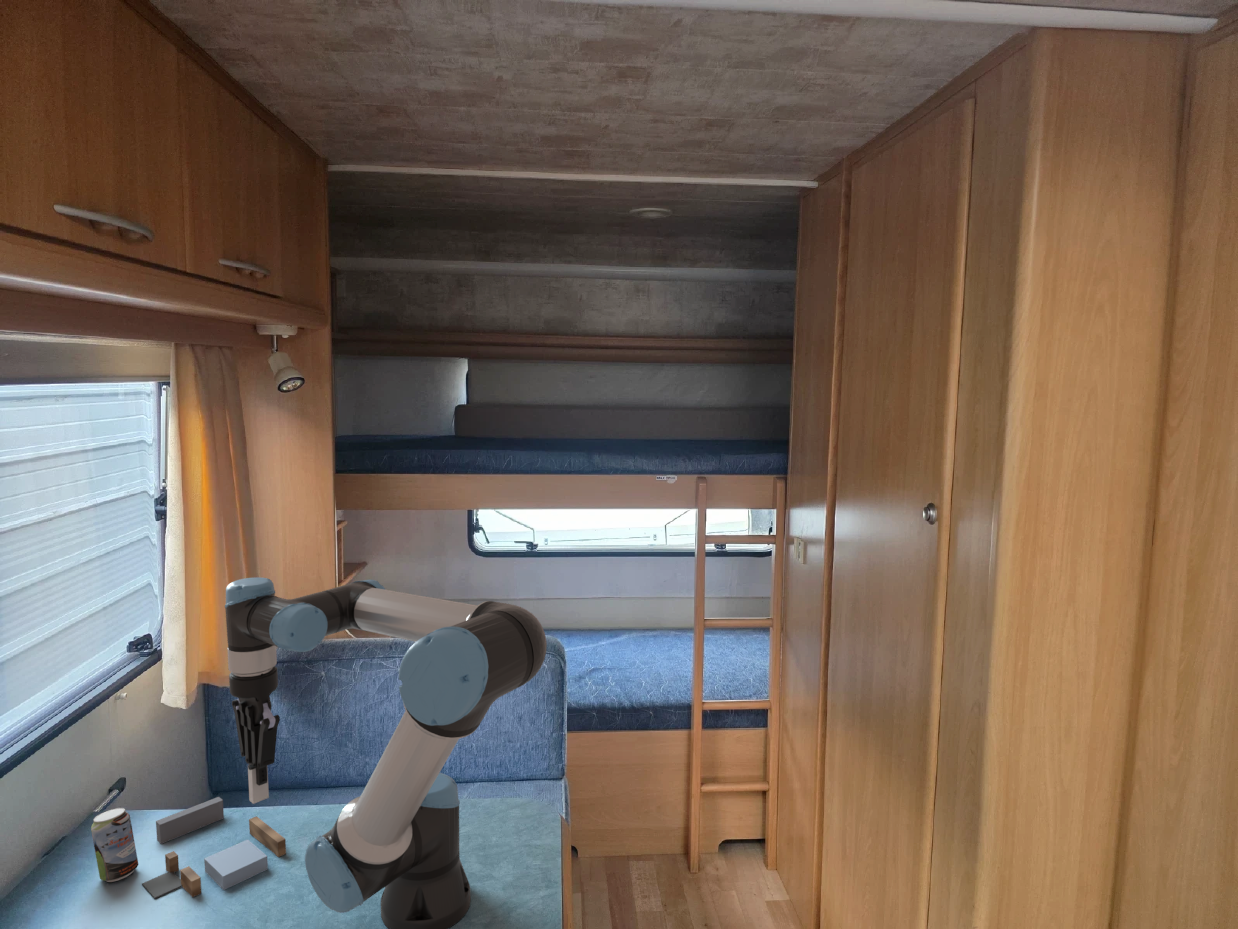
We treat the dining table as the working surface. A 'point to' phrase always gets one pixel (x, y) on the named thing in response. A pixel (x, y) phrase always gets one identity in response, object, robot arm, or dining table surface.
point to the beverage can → (114, 845)
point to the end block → (189, 820)
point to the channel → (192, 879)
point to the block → (235, 864)
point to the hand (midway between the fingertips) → (259, 799)
